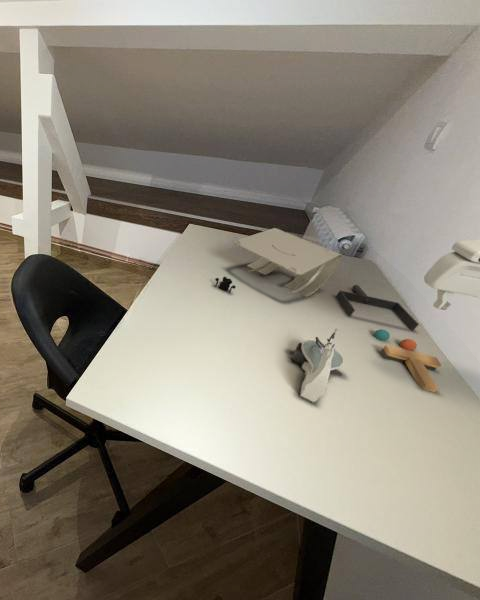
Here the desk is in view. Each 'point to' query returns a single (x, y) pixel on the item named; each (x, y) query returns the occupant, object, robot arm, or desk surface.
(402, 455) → the desk surface
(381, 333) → the teal ball
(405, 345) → the terracotta ball
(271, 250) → the laptop stand
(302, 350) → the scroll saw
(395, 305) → the dark flat angular piece
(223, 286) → the wireless earbuds
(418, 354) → the wooden t-shaped block
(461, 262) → the robot arm
